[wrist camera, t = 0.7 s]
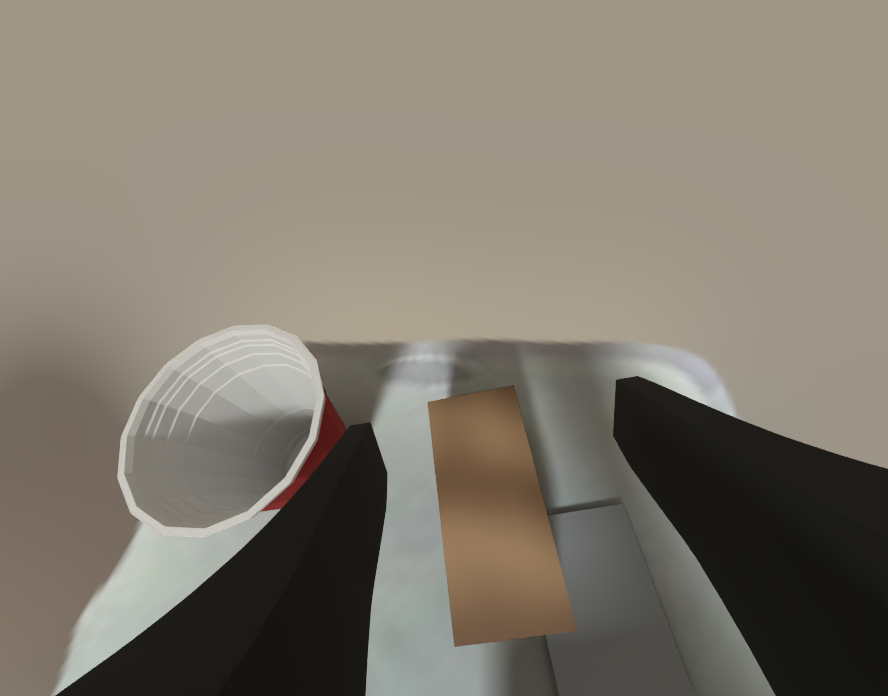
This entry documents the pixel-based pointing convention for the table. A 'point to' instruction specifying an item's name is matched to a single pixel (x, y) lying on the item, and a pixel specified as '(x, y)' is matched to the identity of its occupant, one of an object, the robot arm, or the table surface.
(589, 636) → the felt mat
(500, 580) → the wooden block
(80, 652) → the table surface
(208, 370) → the plastic cup
